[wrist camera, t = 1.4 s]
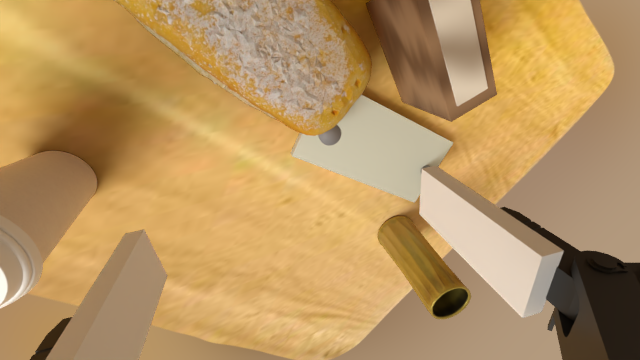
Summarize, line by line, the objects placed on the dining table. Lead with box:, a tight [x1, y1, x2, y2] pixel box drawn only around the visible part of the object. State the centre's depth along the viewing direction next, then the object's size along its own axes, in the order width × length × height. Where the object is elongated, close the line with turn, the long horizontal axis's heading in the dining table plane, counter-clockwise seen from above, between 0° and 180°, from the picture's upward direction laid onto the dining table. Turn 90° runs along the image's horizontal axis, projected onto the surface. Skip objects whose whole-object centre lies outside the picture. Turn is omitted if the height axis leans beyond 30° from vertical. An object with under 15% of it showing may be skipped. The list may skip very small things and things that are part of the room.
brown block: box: [366, 0, 497, 122], centre depth 29 cm, size 12×5×10 cm, turn 29°
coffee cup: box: [0, 151, 97, 308], centre depth 24 cm, size 10×10×15 cm
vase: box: [378, 216, 471, 319], centre depth 39 cm, size 6×6×14 cm
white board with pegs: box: [291, 95, 453, 203], centre depth 35 cm, size 10×20×6 cm, turn 64°
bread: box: [114, 0, 372, 136], centre depth 25 cm, size 13×26×8 cm, turn 52°
